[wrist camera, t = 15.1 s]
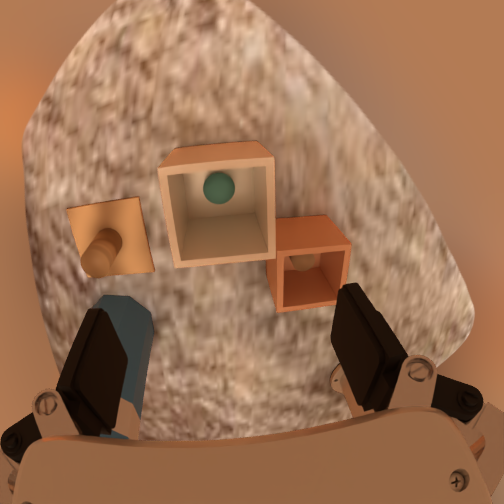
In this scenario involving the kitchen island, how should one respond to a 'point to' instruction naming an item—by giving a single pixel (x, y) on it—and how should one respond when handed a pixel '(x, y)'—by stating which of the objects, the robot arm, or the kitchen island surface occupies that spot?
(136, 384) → the water bottle
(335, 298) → the orange open box
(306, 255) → the cork
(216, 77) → the kitchen island surface
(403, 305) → the kitchen island surface
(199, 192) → the cream open box
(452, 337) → the kitchen island surface
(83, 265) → the lid
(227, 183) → the ball
